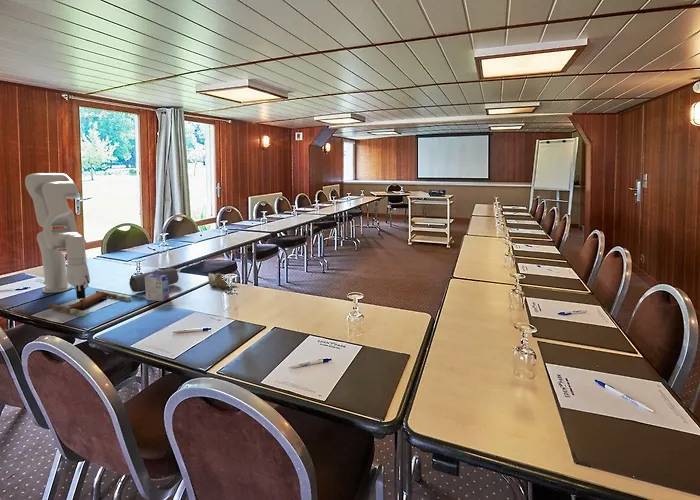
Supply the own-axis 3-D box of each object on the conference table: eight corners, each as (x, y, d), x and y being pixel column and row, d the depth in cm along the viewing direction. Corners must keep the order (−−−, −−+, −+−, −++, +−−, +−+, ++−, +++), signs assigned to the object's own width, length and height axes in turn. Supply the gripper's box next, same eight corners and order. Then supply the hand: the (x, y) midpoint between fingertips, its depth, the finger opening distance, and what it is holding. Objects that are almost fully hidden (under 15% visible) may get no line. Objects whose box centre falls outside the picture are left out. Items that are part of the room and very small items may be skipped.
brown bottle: (90, 297, 206) (96, 286, 205) (103, 304, 207) (109, 293, 206) (65, 310, 189) (71, 298, 187) (79, 317, 189) (85, 306, 188)
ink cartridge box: (170, 298, 208) (168, 270, 205) (163, 301, 202) (161, 273, 199) (153, 296, 210) (150, 269, 207) (145, 300, 204) (143, 271, 201)
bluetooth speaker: (170, 283, 233) (169, 266, 231) (179, 286, 228) (178, 268, 226) (129, 292, 215) (127, 274, 213) (138, 296, 210) (137, 277, 207)
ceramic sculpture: (214, 267, 234) (237, 272, 230) (214, 282, 236) (237, 286, 232) (202, 272, 224) (226, 277, 220) (202, 287, 226) (226, 292, 222)
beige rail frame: (48, 308, 190) (48, 304, 189) (98, 293, 212) (98, 290, 212) (82, 316, 181) (81, 312, 181) (131, 300, 203) (130, 296, 203)
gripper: (58, 260, 194) (63, 298, 198) (79, 264, 189) (84, 302, 192) (74, 257, 201) (78, 293, 205) (95, 261, 195) (99, 298, 199)
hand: (81, 298), depth 199 cm, fingers closed
